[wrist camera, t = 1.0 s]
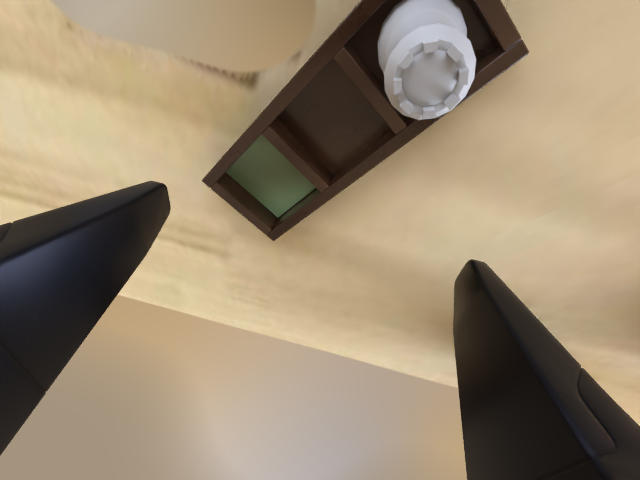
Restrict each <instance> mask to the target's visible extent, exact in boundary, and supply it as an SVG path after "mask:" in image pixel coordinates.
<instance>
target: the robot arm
mask: <svg viewBox="0 0 640 480" xmlns="http://www.w3.org/2000/svg"><path fill="white" fill-rule="evenodd" d="M169 213H170V201H169V196H168V190H167V187H166V185H164V184H163V183H159V182H155V181H148V182H145V183H141V184H138V185H135V186H131V187H128V188H125V189H121V190H118V191H115V192H111V193H108V194H104V195H101V196H98V197H94V198H91V199H88V200H84V201H81V202H78V203H74V204H71V205H67V206H64V207H61V208H57V209H54V210H51V211H47V212H44V213H41V214H37V215H34V216H30V217H27V218H24V219H20V220H17V221H14V222H13V223H7V224H3V225H0V455H1V454H2V453H3V451H4V450H5V448H6V447H7V446H8V444H9V443H10V442H11V440H12V439H13V437H14V436H15V435H16V433H17V432H18V431H19V429H20V428H21V426H22V425H23V424H24V422H25V421H26V420H27V418H28V417H29V416H30V414H31V413H32V411H33V410H34V409H35V407H36V406H37V404H38V403H39V402H40V400H41V399H42V398H43V396H44V395H45V393H46V392H45V391H47V390H48V389H49V388H50V386H51V385H52V384H53V382H54V381H55V379H56V378H57V376H58V375H59V374H60V373H61V371H62V370H63V368H64V367H65V366H66V364H67V363H68V362H69V360H70V359H71V357H72V356H73V355H74V353H75V352H76V351H77V349H78V348H79V346H80V345H81V344H82V342H83V341H84V339H85V338H86V337H87V335H88V334H89V333H90V331H91V330H92V329H93V327H94V326H95V324H96V323H97V322H98V320H99V319H100V318H101V316H102V315H103V314H104V312H105V311H106V309H107V308H108V307H109V305H110V304H111V302H112V301H113V300H114V298H115V297H116V296H117V294H118V293H119V292H120V290H121V289H122V287H123V286H124V285H125V283H126V282H127V281H128V279H129V278H130V276H131V275H132V274H133V272H134V271H135V270H136V268H137V267H138V265H139V264H140V263H141V261H142V260H143V258H144V257H145V256H146V254H147V252H148V251H149V249H150V248H151V246H152V244H153V242H154V240H155V239H156V237H157V235H158V233H159V231H160V230H161V228H162V226H163V224H164V223H165V221H166V219H167V217H168V215H169ZM453 335H454V347H455V357H456V367H457V378H458V388H459V399H460V409H461V419H462V429H463V440H464V450H465V461H466V471H467V480H640V426H639V425H638V424H637V423H636V422H635V421H634V420H633V419H632V418H631V417H630V416H629V415H628V414H627V413H626V412H625V411H624V410H623V409H622V408H621V407H620V406H619V405H618V404H617V403H616V402H615V401H614V400H613V399H612V398H611V397H610V396H609V395H608V394H607V393H606V392H605V391H604V390H603V389H602V388H601V387H600V386H599V385H598V383H597V382H596V381H595V380H594V379H593V378H592V377H591V376H590V375H589V374H588V373H587V372H586V371H585V369H583V368H581V365H580V364H579V363H578V362H577V361H576V360H575V359H574V358H573V357H572V356H571V354H570V353H569V352H568V351H567V350H566V349H565V348H564V347H563V346H562V345H561V344H560V343H559V342H558V340H557V339H556V338H555V337H554V336H553V335H552V334H551V333H550V332H549V331H548V330H547V329H546V328H545V326H544V325H543V324H542V323H541V322H540V321H539V320H538V319H537V318H536V317H535V316H534V315H533V314H532V312H531V311H530V310H529V309H528V308H527V307H526V306H525V305H524V304H523V303H522V302H521V301H520V300H519V298H518V297H517V296H516V295H515V294H514V293H513V292H512V291H511V290H510V289H509V288H508V287H507V286H506V284H505V283H504V282H503V281H502V280H501V279H500V278H499V277H498V276H497V275H496V274H495V273H494V272H493V270H492V269H491V268H490V267H489V266H488V265H487V264H486V263H484V262H481V261H477V260H473V259H472V260H469V261H468V262H467V263H466V264H465V266H464V267H463V269H462V270H461V272H460V274H459V275H458V277H457V278H456V281H455V285H454V318H453Z"/></svg>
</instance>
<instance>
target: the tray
mask: <svg viewBox="0 0 640 480" xmlns="http://www.w3.org/2000/svg"><path fill="white" fill-rule="evenodd" d="M401 1H403V0H361V1H360V3H359V4H358V5H357V6H356V7H355V8H354V9H353V11H352V12H351V13H350V14H349V15H348V16H347V17H346V18H345V20H344V21H343V22H342V23H341V24H340V25H339V26H338V27H337V29H336V30H335V31H334V32H333V33H332V34H331V35H330V36H329V38H328V39H327V40H326V41H325V42H324V43H323V44H322V45H321V47H320V48H319V49H318V50H317V51H316V52H315V53H314V54H313V56H312V57H311V58H310V59H309V60H308V61H307V62H306V63H305V65H304V66H303V67H302V68H301V69H300V70H299V71H298V72H297V74H296V75H295V76H294V77H293V78H292V79H291V80H290V82H289V83H288V84H287V85H286V86H285V87H284V88H283V89H282V91H281V92H280V93H279V94H278V95H277V96H276V97H275V98H274V100H273V101H272V102H271V103H270V104H269V105H268V106H267V107H266V109H265V110H264V111H263V112H262V113H261V114H260V115H259V116H258V118H257V119H256V120H255V121H254V122H253V123H252V124H251V125H250V127H249V128H248V129H247V130H246V131H245V132H244V133H243V134H242V136H241V137H240V138H239V139H238V140H237V141H236V142H235V143H234V145H233V146H232V147H231V148H230V149H229V150H228V151H227V153H226V154H225V155H224V156H223V157H222V158H221V159H220V160H219V162H218V163H217V164H216V165H215V166H214V167H213V168H212V169H211V171H210V172H209V173H208V174H207V175H206V176H205V177H204V178H203V180H202V182H204V183H205V184H206V185H207V186H208V187H210V188H211V189H212V190H213V191H214V192H216V193H217V194H218V195H219V196H220V197H222V198H223V199H224V200H225V201H226V202H228V203H229V204H230V205H231V206H232V207H233V208H235V209H236V210H237V211H238V212H239V213H241V214H242V215H243V216H244V217H245V218H247V219H248V220H249V221H250V222H251V223H253V224H254V225H255V226H256V227H257V228H258V229H260V230H261V231H262V232H263V233H264V234H266V235H267V236H268V237H269V238H270V239H272V240H273V241H274V240H276V239H277V238H278V237H280V236H281V235H283V234H284V233H285V232H287V231H288V230H289V229H291V228H292V227H293V226H295V225H296V224H297V223H299V222H300V221H302V220H303V219H304V218H306V217H307V216H308V215H310V214H311V213H312V212H314V211H315V210H317V209H318V208H319V207H321V206H322V205H323V204H325V203H326V202H327V201H329V200H330V199H331V198H333V197H334V196H336V195H337V194H338V193H340V192H341V191H342V190H344V189H345V188H346V187H348V186H349V185H351V184H352V183H353V182H355V181H356V180H357V179H359V178H360V177H361V176H363V175H364V174H365V173H367V172H368V171H370V170H371V169H372V168H374V167H375V166H376V165H378V164H379V163H380V162H382V161H383V160H385V159H386V158H387V157H389V156H390V155H391V154H393V153H394V152H395V151H397V150H398V149H399V148H401V147H402V146H404V145H405V144H406V143H408V142H409V141H410V140H412V139H413V138H414V137H416V136H417V135H419V134H420V133H421V132H423V131H424V130H425V129H427V128H428V127H429V126H431V125H432V124H433V123H435V122H436V121H438V120H439V119H440V118H442V117H443V116H444V115H446V114H447V113H448V112H447V113H445V114H443V115H441V116H439V117H437V118H431V119H422V120H418V119H414V118H411V117H407V116H404V115H403V114H401V113H400V112H399V111H398V110H397V109H395V108H394V107H393V106H392V105H391V103H390V100H389V98H388V96H387V94H386V92H385V84H384V73H383V71H382V69H381V67H380V65H379V61H378V45H377V42H378V38H379V35H380V31H381V28H382V24H383V22H384V21H385V19H386V18H387V16H388V15H389V14H390V12H391V11H392V9H393V8H394V6H396V5H397V4H399V3H400V2H401ZM452 1H453V2H454V3H455V4H456V5H457V6H458V7H459V8H460V9H461V12H462V15H463V18H464V21H465V24H466V27H467V38H468V39H469V40H470V41H471V45H472V48H473V51H474V54H475V57H476V66H475V76H474V80H473V82H472V84H471V86H470V88H469V90H468V92H467V94H466V96H465V97H464V98H463V99H462V100H461V101H460V102H459V103H458V104H457V105H456V106H455V107H457V106H458V105H459V104H461V103H462V102H463V101H465V100H466V99H467V98H469V97H470V96H472V95H473V94H474V93H476V92H477V91H478V90H480V89H481V88H482V87H484V86H485V85H487V84H488V83H489V82H491V81H492V80H493V79H495V78H496V77H497V76H499V75H500V74H501V73H503V72H504V71H506V70H507V69H508V68H510V67H511V66H512V65H514V64H515V63H516V62H518V61H519V60H521V59H522V58H523V57H525V56H526V55H527V54H528V53H529V51H528V49H527V47H526V45H525V43H524V42H523V40H522V39H521V36H520V34H519V33H518V31H517V29H516V27H515V25H514V24H513V22H512V20H511V18H510V16H509V15H508V13H507V11H506V9H505V7H504V6H503V4H502V2H501V0H452ZM455 107H454V108H455ZM454 108H453V109H454ZM453 109H452V110H453ZM449 112H450V111H449Z"/></svg>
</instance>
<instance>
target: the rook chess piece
mask: <svg viewBox="0 0 640 480" xmlns="http://www.w3.org/2000/svg"><path fill="white" fill-rule="evenodd" d="M377 45H378V61H379V65H380V67H381V69H382V71H383V73H384V84H385V92H386V94H387V96H388V98H389V100H390V103H391V105H392V106H393V107H394V108H395V109H397V110H398V111H399V112H400V113H401V114H403V115H404V116H407V117H411V118H414V119H418V120H422V119H431V118H437V117H439V116H441V115H443V114H445V113H447V112H449V111H451V110H452V109H453V108H454V107H455V106H456V105H457V104H458V103H459V102H460V101H461V100H462V99H463V98H464V97H465V96H466V94H467V92H468V90H469V88H470V86H471V84H472V82H473V80H474V76H475V66H476V57H475V54H474V51H473V48H472V45H471V41H470V40H469V39H468V38H467V27H466V24H465V21H464V18H463V15H462V12H461V9H460V8H459V7H458V6H457V5H456V4H455V3H454V2H453V1H452V0H403V1H401V2H400V3H399V4H397V5H396V6H394V8H393V9H392V11H391V12H390V14H389V15H388V16H387V18H386V19H385V21H384V22H383V24H382V28H381V31H380V35H379V38H378V42H377Z"/></svg>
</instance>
